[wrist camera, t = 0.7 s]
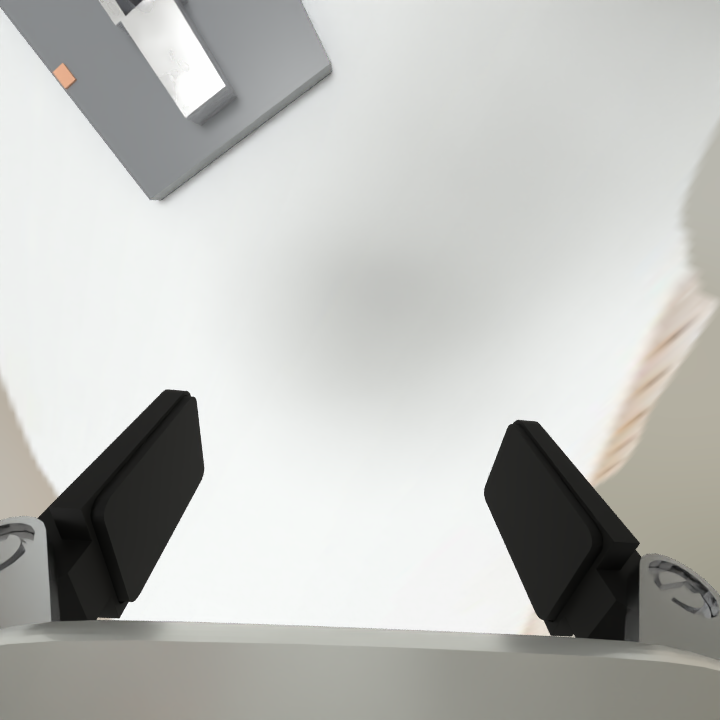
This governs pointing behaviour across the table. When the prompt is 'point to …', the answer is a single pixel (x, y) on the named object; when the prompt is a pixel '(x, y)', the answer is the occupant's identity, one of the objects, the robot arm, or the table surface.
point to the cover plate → (149, 96)
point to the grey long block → (175, 54)
